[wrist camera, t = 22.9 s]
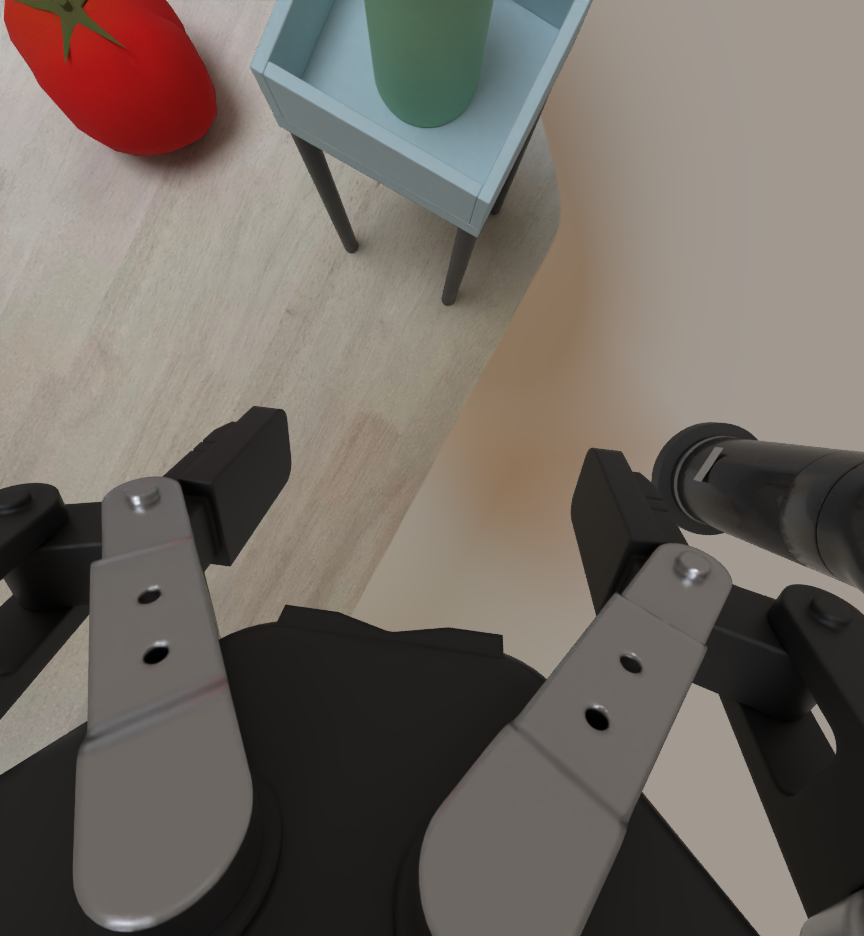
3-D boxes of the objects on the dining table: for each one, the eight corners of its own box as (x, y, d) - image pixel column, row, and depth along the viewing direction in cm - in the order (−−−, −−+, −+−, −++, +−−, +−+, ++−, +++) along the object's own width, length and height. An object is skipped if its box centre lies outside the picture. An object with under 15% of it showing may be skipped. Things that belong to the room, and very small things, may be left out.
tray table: (504, 204, 40) (608, -35, 18) (451, 309, 41) (489, 204, 19) (391, 139, 39) (358, -197, 17) (340, 249, 40) (248, 65, 18)
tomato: (223, 196, 39) (155, 124, 29) (75, 158, 38) (-48, 70, 28) (245, 57, 38) (182, -70, 27) (91, 14, 37) (-32, -133, 27)
